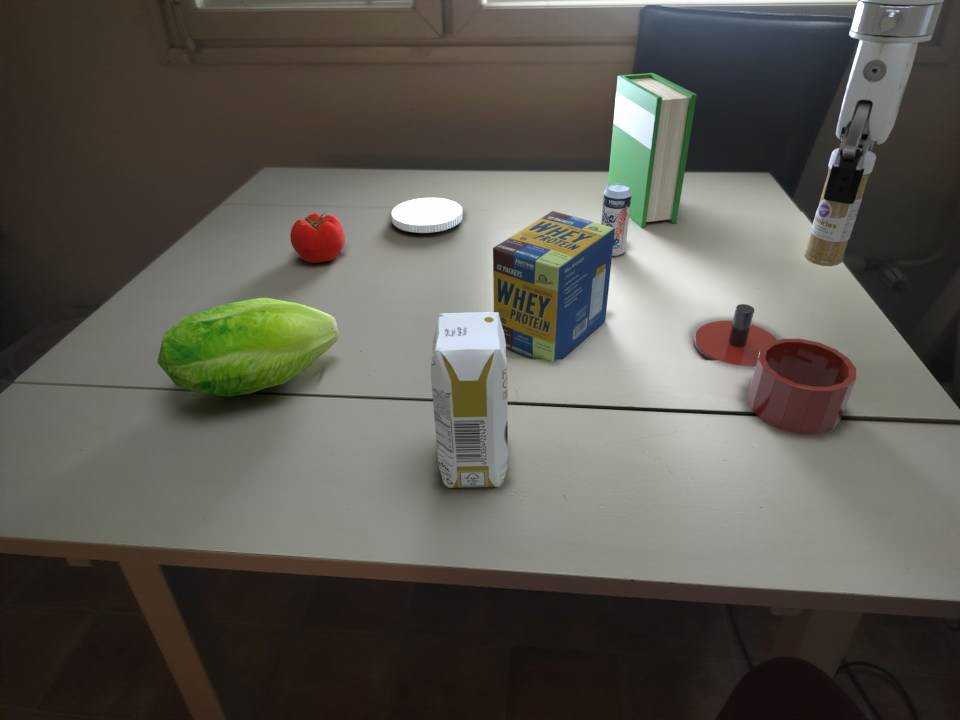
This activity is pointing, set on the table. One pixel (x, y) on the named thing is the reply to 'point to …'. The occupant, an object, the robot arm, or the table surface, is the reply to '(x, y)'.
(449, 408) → the juice carton
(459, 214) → the plastic lid
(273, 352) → the lettuce
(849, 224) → the sprinkles bottle
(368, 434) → the table surface
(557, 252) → the protein box
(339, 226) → the tomato
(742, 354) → the lid
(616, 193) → the beer can
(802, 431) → the pot
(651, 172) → the hardback book
